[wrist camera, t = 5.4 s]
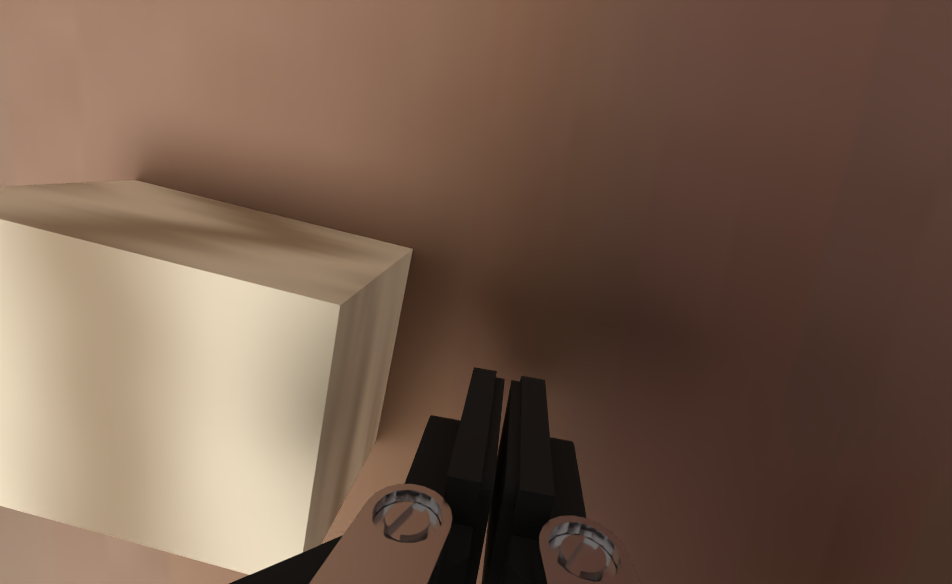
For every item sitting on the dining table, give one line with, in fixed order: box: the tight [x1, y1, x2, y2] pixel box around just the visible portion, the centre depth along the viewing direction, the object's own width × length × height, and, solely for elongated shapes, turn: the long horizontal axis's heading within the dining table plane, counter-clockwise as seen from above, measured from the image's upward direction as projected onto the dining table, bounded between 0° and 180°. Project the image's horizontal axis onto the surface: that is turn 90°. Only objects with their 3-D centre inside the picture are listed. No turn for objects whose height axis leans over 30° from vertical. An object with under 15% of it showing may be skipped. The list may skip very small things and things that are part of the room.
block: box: [0, 180, 413, 575], centre depth 13 cm, size 9×7×6 cm
